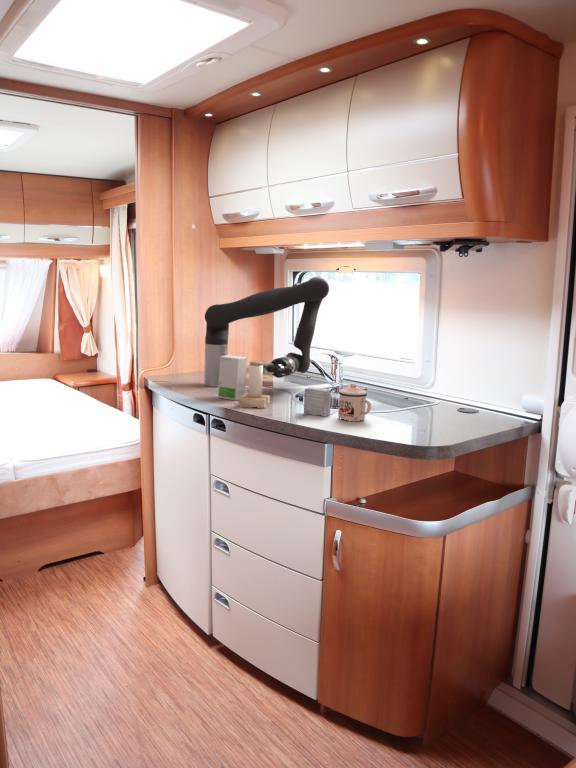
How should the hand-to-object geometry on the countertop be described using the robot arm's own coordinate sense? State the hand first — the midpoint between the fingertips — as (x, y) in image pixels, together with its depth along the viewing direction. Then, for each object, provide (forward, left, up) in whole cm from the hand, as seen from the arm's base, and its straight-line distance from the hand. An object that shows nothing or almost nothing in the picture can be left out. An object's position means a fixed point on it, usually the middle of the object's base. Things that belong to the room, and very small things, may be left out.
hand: (266, 371), depth 224 cm
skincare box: (0, -13, -11) cm, 17 cm away
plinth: (+10, -2, -11) cm, 15 cm away
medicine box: (+17, +21, -11) cm, 30 cm away
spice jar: (+10, -2, -8) cm, 13 cm away
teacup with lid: (+21, +34, -11) cm, 42 cm away
